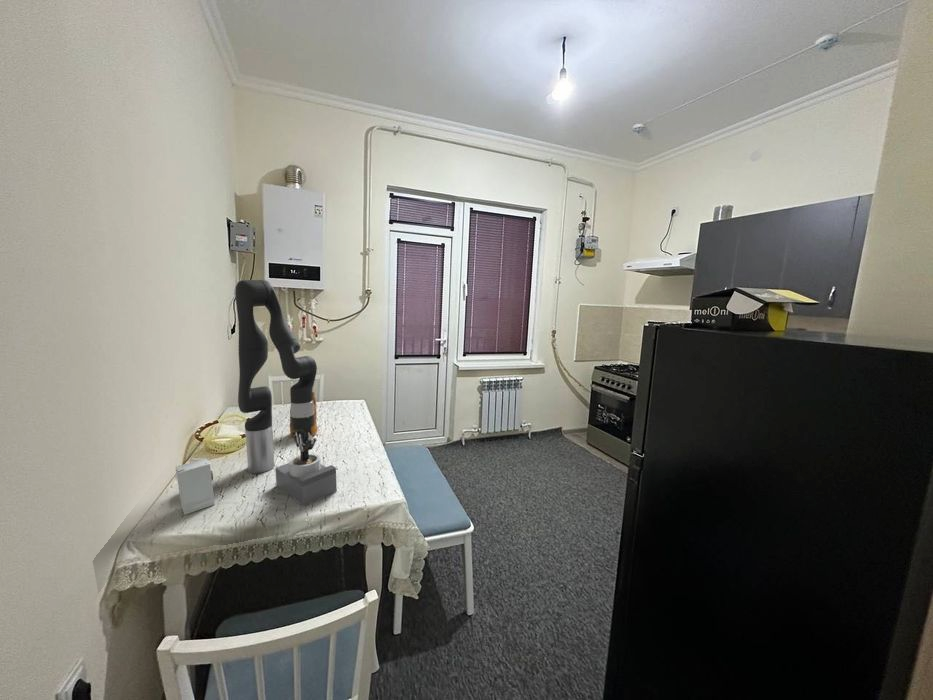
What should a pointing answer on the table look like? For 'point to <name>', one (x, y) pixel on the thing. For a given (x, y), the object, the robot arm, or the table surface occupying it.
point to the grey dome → (300, 462)
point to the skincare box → (195, 485)
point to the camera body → (306, 480)
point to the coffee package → (314, 428)
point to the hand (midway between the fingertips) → (304, 459)
